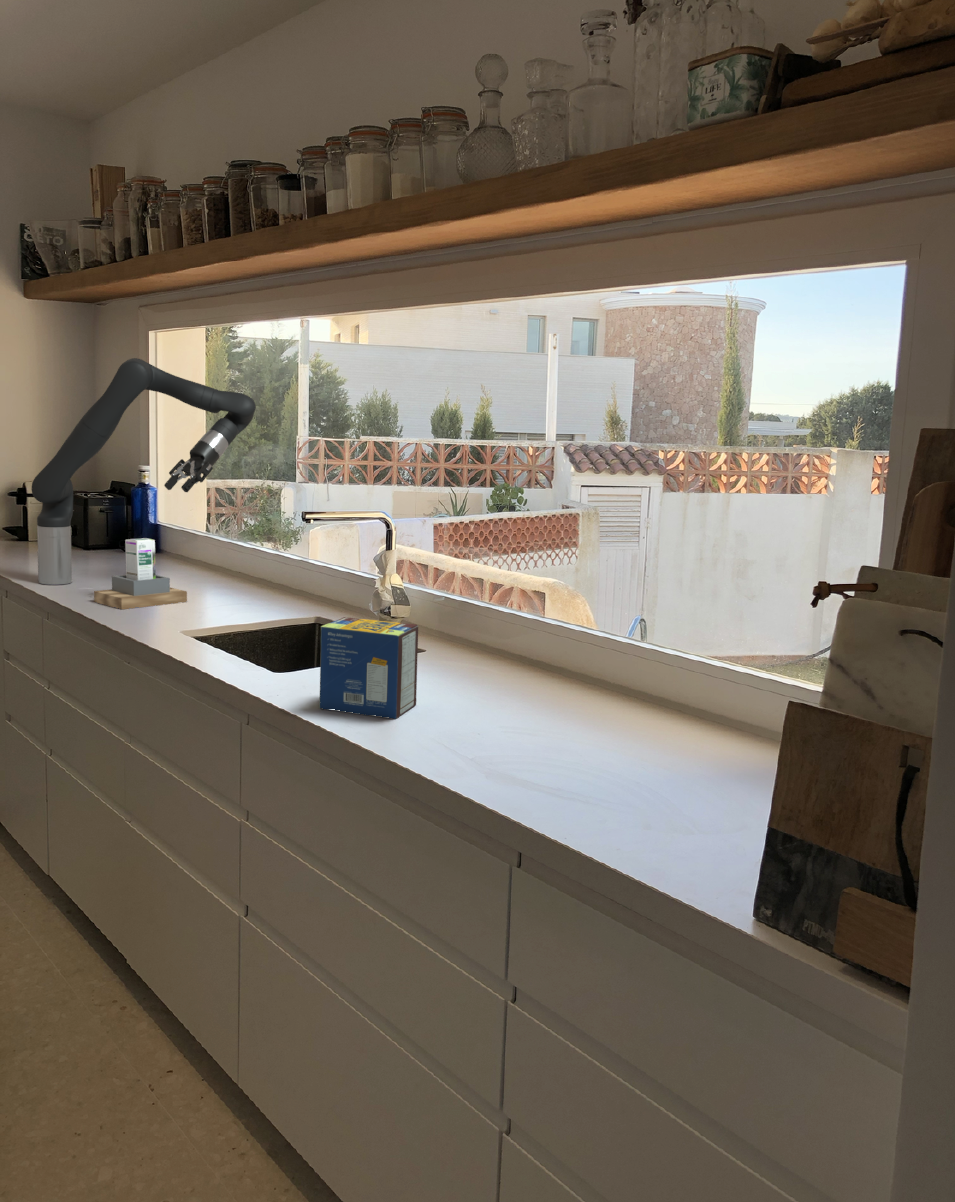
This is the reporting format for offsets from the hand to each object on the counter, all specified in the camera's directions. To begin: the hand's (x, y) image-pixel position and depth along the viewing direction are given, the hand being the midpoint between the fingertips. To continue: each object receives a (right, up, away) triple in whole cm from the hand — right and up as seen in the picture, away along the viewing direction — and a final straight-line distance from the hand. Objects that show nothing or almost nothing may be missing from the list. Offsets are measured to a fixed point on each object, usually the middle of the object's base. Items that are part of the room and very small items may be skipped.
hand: (175, 489), depth 286 cm
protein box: (+66, -52, -100) cm, 131 cm away
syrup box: (-7, -29, -8) cm, 31 cm away
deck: (-7, -32, -8) cm, 34 cm away
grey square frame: (-7, -29, -8) cm, 31 cm away
